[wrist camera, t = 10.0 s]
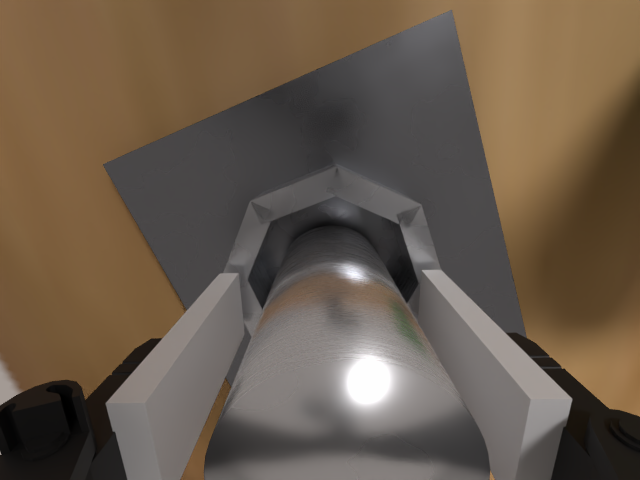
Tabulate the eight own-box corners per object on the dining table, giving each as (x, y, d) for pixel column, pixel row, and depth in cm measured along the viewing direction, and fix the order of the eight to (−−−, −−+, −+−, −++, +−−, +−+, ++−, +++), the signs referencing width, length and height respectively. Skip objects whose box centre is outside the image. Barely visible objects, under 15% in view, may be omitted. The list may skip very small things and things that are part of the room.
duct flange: (443, 18, 13) (483, -26, 9) (518, 332, 17) (563, 375, 14) (114, 163, 15) (55, 168, 11) (255, 413, 19) (241, 466, 16)
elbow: (277, 226, 14) (185, 364, 5) (383, 224, 14) (507, 358, 5) (286, 364, 16) (233, 661, 7) (379, 363, 16) (462, 661, 7)
